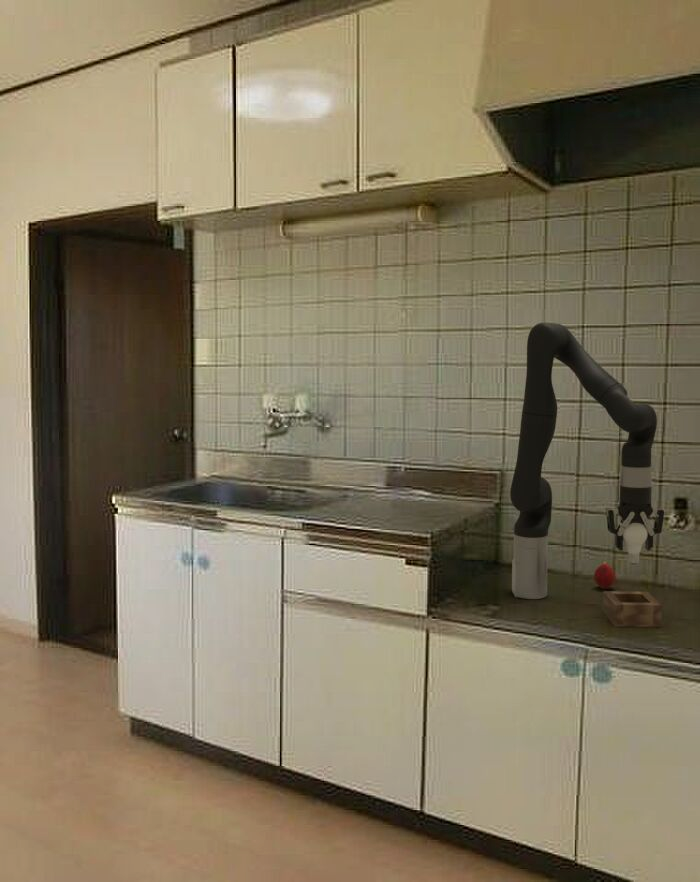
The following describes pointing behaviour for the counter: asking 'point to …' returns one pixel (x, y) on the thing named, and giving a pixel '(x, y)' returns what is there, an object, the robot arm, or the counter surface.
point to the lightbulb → (634, 540)
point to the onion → (604, 576)
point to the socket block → (632, 609)
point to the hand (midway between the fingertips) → (634, 549)
